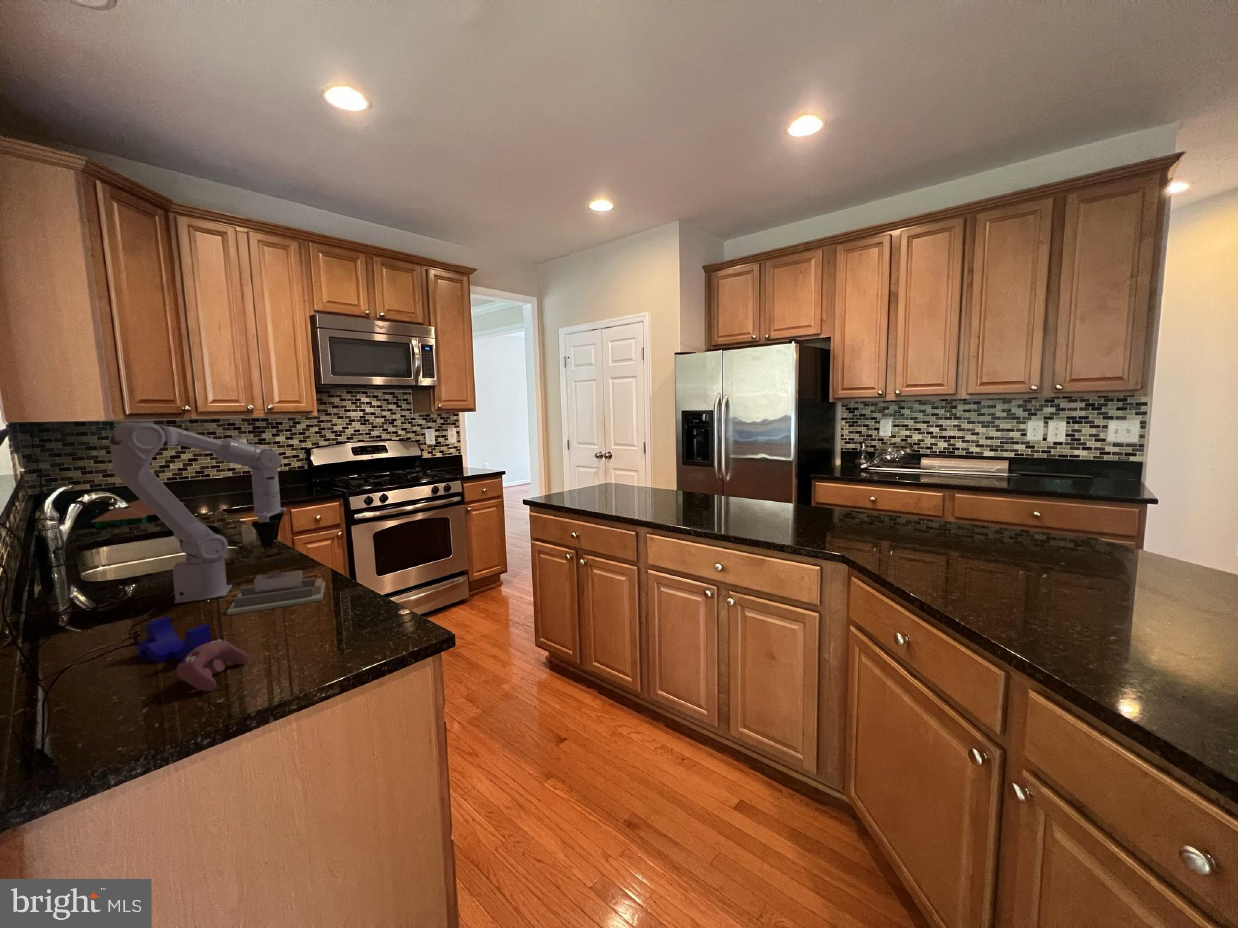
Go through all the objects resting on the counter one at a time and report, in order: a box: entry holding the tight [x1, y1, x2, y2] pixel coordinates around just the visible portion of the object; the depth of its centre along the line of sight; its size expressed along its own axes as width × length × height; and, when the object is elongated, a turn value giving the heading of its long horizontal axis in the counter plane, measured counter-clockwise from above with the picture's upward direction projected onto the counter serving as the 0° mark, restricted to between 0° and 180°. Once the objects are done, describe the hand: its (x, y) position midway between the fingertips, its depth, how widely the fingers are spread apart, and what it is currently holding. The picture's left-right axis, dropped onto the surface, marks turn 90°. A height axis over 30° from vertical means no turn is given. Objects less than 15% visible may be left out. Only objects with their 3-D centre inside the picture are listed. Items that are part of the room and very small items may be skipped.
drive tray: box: [226, 577, 326, 616], centre depth 118 cm, size 18×12×3 cm, turn 117°
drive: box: [253, 570, 304, 595], centre depth 118 cm, size 9×4×5 cm, turn 117°
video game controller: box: [176, 638, 250, 692], centre depth 83 cm, size 10×5×7 cm, turn 6°
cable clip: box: [137, 616, 212, 663], centre depth 91 cm, size 12×4×6 cm, turn 73°
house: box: [90, 498, 186, 529], centre depth 204 cm, size 23×33×8 cm
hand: (270, 543), depth 132 cm, fingers open, 7 cm apart
